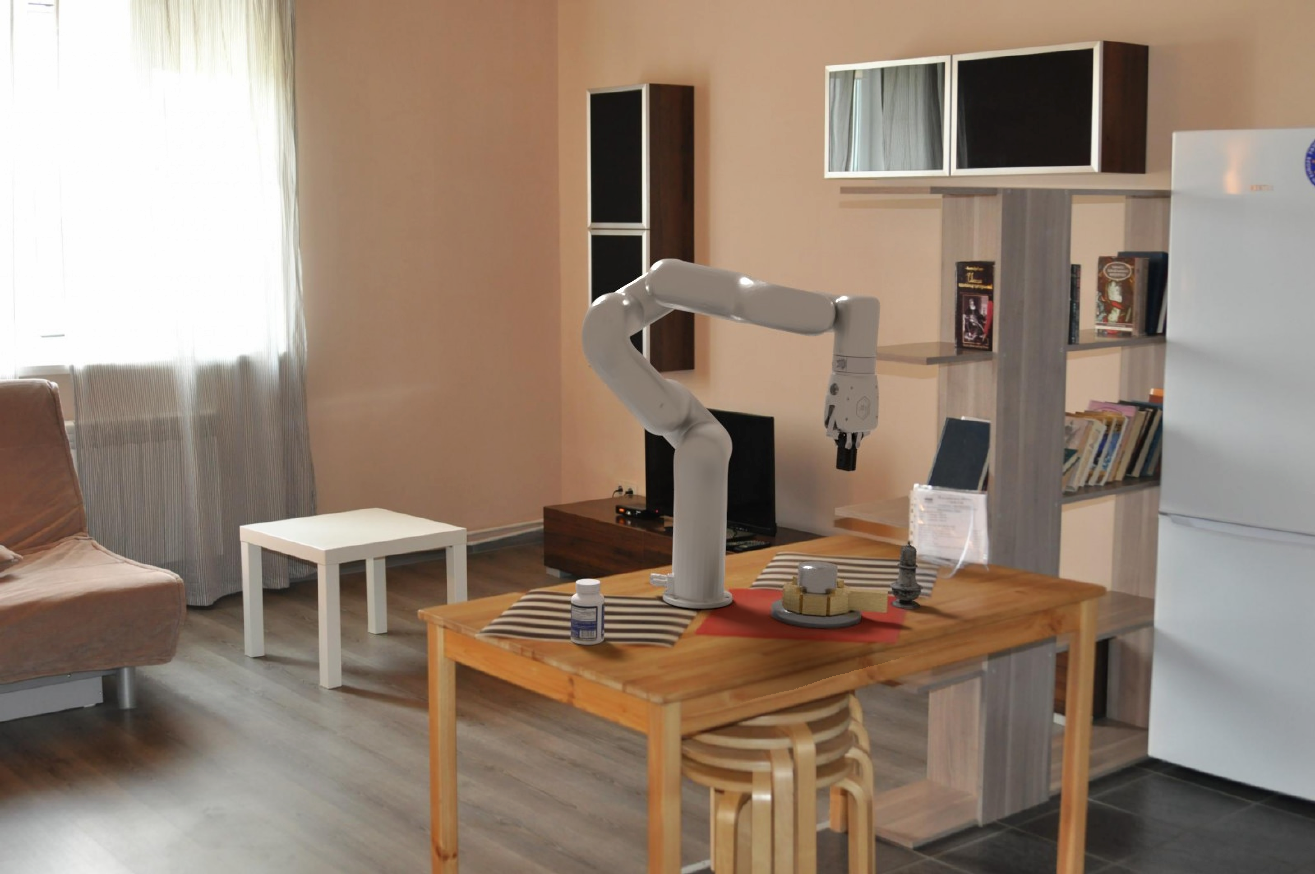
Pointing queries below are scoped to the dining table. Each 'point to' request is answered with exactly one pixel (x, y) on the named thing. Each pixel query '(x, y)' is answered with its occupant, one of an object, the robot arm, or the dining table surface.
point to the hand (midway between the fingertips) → (845, 469)
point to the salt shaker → (906, 580)
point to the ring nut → (833, 599)
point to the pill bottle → (587, 613)
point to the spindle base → (815, 581)
